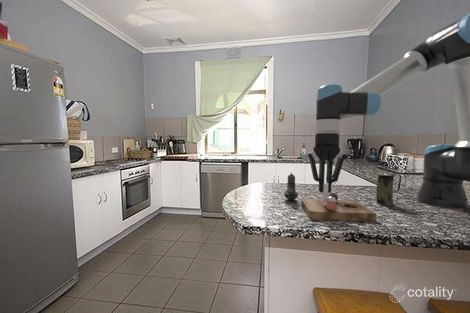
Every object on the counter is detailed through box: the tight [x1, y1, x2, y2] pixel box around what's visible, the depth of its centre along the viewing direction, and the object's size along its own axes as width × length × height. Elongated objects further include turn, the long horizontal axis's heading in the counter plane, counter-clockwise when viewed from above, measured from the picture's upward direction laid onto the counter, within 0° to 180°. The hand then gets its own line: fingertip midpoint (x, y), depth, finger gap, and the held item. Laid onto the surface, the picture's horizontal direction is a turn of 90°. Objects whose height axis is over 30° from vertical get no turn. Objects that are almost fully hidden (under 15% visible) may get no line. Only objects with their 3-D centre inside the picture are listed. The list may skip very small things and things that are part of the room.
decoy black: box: [328, 192, 339, 201], centre depth 82 cm, size 3×3×3 cm
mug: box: [375, 173, 402, 207], centre depth 87 cm, size 8×6×12 cm
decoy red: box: [326, 201, 337, 211], centre depth 72 cm, size 3×3×3 cm
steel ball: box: [328, 197, 336, 203], centre depth 77 cm, size 3×3×3 cm
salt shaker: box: [283, 172, 299, 204], centre depth 91 cm, size 6×6×12 cm
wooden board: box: [300, 199, 378, 222], centre depth 77 cm, size 20×14×2 cm
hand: (324, 201), depth 78 cm, fingers closed
